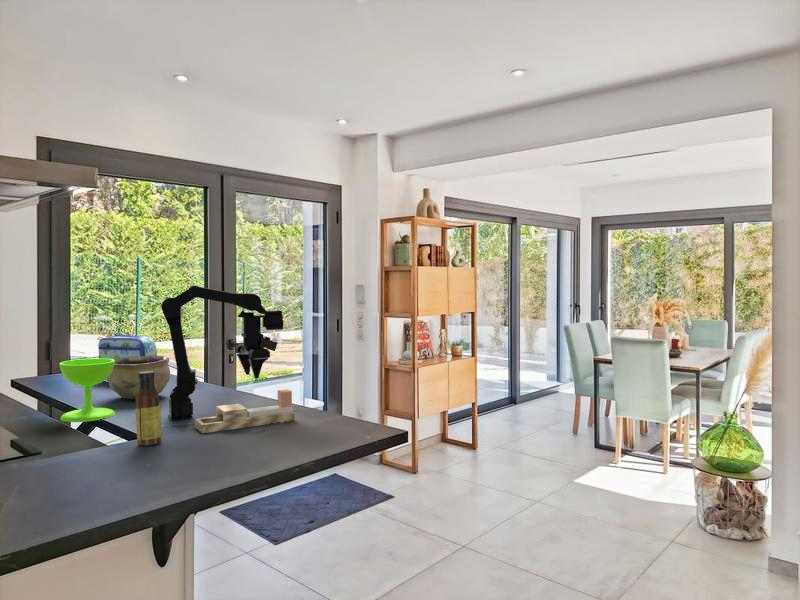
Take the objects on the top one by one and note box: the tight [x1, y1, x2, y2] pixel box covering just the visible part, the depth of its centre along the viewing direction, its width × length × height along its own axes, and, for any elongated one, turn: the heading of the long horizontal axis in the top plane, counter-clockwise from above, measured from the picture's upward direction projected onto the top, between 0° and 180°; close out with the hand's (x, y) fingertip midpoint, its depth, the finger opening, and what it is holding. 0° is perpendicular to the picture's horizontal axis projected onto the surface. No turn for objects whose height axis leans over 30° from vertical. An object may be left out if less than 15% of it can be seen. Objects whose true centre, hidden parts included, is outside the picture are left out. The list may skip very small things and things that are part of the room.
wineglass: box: [58, 357, 116, 423], centre depth 188 cm, size 16×16×18 cm
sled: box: [247, 389, 293, 418], centre depth 184 cm, size 14×4×8 cm, turn 123°
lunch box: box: [97, 333, 158, 381], centre depth 249 cm, size 26×11×21 cm, turn 69°
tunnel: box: [194, 403, 295, 434], centre depth 180 cm, size 29×8×6 cm, turn 123°
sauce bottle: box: [135, 371, 163, 447], centre depth 157 cm, size 7×6×20 cm
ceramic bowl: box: [107, 354, 171, 400], centre depth 217 cm, size 22×22×15 cm
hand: (252, 376), depth 194 cm, fingers open, 9 cm apart
